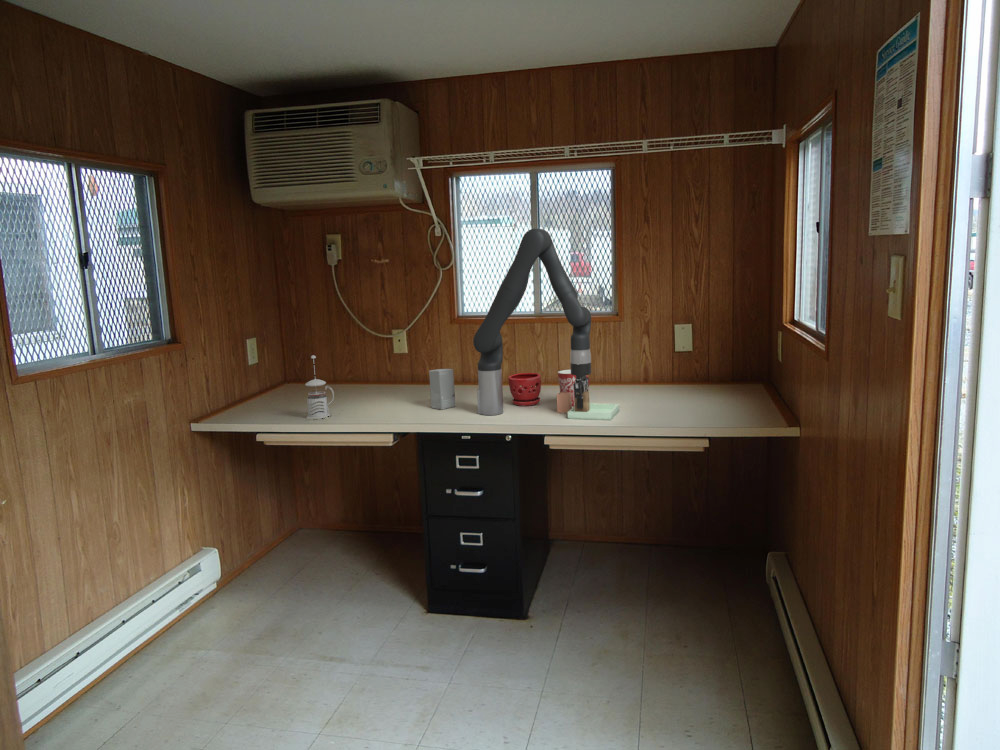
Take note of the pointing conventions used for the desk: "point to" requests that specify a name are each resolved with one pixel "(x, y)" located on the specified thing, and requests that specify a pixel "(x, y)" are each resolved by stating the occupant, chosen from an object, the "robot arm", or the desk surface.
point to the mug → (567, 383)
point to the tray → (595, 412)
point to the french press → (314, 399)
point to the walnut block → (585, 402)
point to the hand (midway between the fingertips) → (582, 406)
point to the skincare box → (442, 388)
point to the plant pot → (525, 388)
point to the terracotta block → (564, 402)
